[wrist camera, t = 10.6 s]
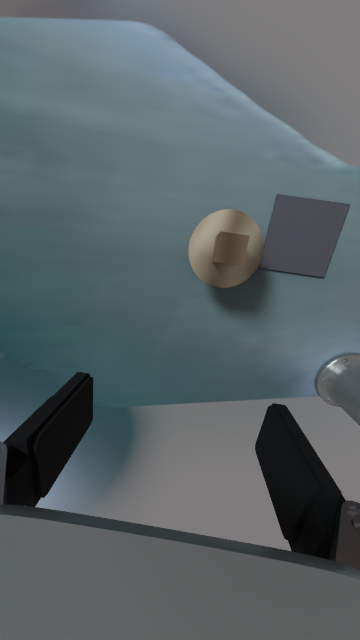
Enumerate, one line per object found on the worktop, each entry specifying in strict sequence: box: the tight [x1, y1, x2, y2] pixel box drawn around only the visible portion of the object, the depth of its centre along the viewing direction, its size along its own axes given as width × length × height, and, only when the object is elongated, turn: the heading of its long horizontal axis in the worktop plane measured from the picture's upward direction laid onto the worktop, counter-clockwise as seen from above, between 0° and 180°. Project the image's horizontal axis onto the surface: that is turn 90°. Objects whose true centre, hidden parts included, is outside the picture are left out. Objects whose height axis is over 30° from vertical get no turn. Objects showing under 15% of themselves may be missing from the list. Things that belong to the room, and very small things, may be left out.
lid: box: [189, 209, 264, 288], centre depth 27 cm, size 11×11×6 cm
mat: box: [259, 194, 350, 277], centre depth 34 cm, size 12×12×1 cm
